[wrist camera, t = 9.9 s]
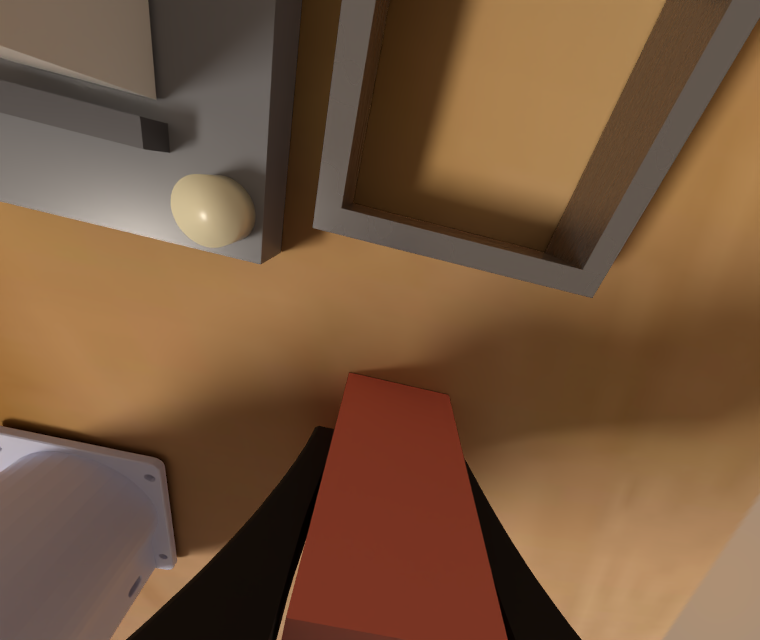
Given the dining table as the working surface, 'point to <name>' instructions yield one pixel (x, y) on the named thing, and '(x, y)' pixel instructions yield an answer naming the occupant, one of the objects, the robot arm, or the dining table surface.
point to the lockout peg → (394, 528)
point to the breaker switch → (82, 40)
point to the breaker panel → (167, 132)
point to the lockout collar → (601, 176)
